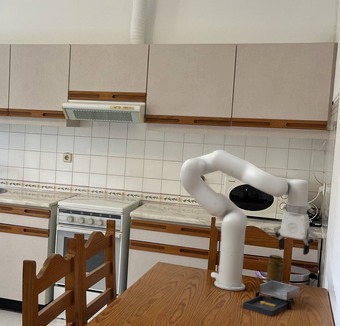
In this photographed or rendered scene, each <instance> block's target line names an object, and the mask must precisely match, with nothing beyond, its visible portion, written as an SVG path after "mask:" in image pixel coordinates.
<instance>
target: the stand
mask: <svg viewBox="0 0 340 326" xmlns="http://www.w3.org/2000/svg"><path fill="white" fill-rule="evenodd" d="M254 295H255V296H254V298H255V297H257V296H260V295H261V292H260V290H257V291H256V292H255V294H254ZM271 298H274V297H271ZM274 299H278V298H274ZM278 300H281V299H278ZM281 301H285V300H281ZM285 302H288V303H287V308H286V310H291V309H292V303H294V297H293V298H291V299H289V300H287V301H285Z"/></svg>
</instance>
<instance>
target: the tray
mask: <svg viewBox="0 0 340 326" xmlns="http://www.w3.org/2000/svg"><path fill="white" fill-rule="evenodd" d="M260 301H264V302H266V303H270V304H274V305H276V306H275V307H273V306H269V305H265V304H261V303H260ZM287 303H288V302H285V301H281V300H278V299H274V298H271V297H270V296H267V295H263V294H260V295H259V296H257V297H255V296H254V297H253V298H251V299H248V300H246V301H243V302H242V308H243V309H246V310H250V311H253V312H257V313H259V314H263V315H267V316H269V317H273V316H275V315H277V314H278V313H281V312H282V311H285V310H287Z"/></svg>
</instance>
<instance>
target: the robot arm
mask: <svg viewBox="0 0 340 326" xmlns="http://www.w3.org/2000/svg"><path fill="white" fill-rule="evenodd" d="M216 172H221V173H223V174H226V175H228V176H230V177H232V178H234V179H236V180H238V181H241V182H242V183H244V184H247V185H249V186H251V187H253V188H254V189H257V190H259V191H261V192H264V193H265V194H268V195H270V196H273V197H275V198H281V197H283V196H287V201H286V204H285V205H283V209H285V211H284V212H283V214H282V219H281V224H280V225H278V226H276V227H273V232H274V235H275V236H276V238H277V240H278V249H279V251H282V250H285V238H289V239H295V240H302V241H303V243H304V244H303V251H302V255H304V256H307V255H308V254H309V253H310V245H311V244H313V243H314V242H315V241H316V240H317V238H318V234H317V233H315V232H314V231H312V230H311V229H310V219H309V214H308V203H309V189H310V188H309V187H310V183H309V181H308V180H306V179H299V178H292V179H291V178H286V177H280V176H275V175H273V174H272V173H269V172H266V171H265V170H262V169H260V168H259V167H257V166H256V165H255V164H254V163H252V162H250V161H248V160H245V159H243V158H241V157H239V156H236V155H234V154H231V152H228V151H227V150H225V149H215V150H214V151H212V152H210V153H208V154H203V155H200V156H197V157H192V158H188V159H186V160H185V161H184V163H182V165H181V168H180V171H179V179H180V183H181V185H182V187H183V188H184V190H185V191H186V192H187V194H189V196H191V197H192V199H194V201H196V203H198V205H199V206H200V207H202V209H203V210H204V211H205V212H207V214H208V215H210V216H211V217H216V218H217V219H219V220H220V221H221V227H220V229H221V231H220V232H221V233H220V235H221V236H220V253H219V264H218V265H219V266H218V272H214V271H212V272H211V274H210V278H213V279H215V280H214V283H213V284H214V286H215V287H216V288H218V289H222V290H226V291H235V292H236V291H244V290H245V289H246V285H245V284H244V283H243V269H244V257H245V241H246V228H247V226H248V217H247V215H246V214H245V213H244V211H242V210H241V208H239V207H238V206H237V204H235V202H233V201H232V200H231V199H230V198H228V196H226V195H225V194H223V193H221V192H216V191H215V190H214V189H213V188H212V187H211V186H210V185H209V184H208V183H207V182H205V181H204V180H203V179H202V176H206V175H209V174H212V173H216ZM310 236H311V238H310V239H309V237H310Z"/></svg>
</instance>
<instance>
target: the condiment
mask: <svg viewBox="0 0 340 326" xmlns="http://www.w3.org/2000/svg"><path fill="white" fill-rule="evenodd" d="M282 262H283V257H282V256H281V255H277V254H270V255H269V257H268V261H267V270H266V280H265V279H264V280H261V281H262V282H263V283H266V282H268V281H271V280H273V281H277V282H281V283H282V274H283V263H282Z"/></svg>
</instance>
